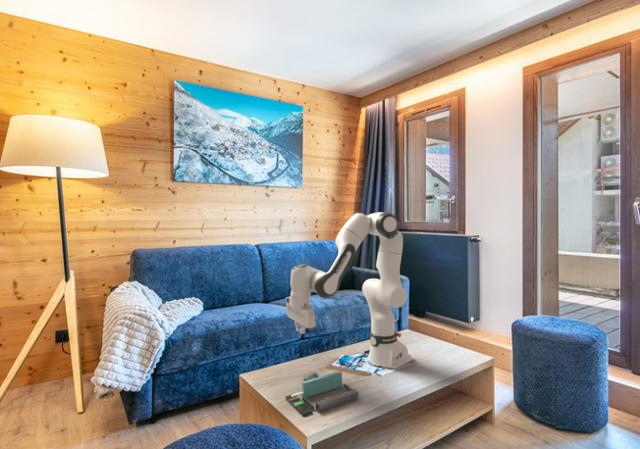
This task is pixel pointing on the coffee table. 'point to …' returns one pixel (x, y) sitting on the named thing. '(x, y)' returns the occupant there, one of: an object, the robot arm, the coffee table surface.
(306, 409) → the gauge frame
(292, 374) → the coffee table surface
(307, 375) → the mineral specimen
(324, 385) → the gauge plate
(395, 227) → the robot arm
